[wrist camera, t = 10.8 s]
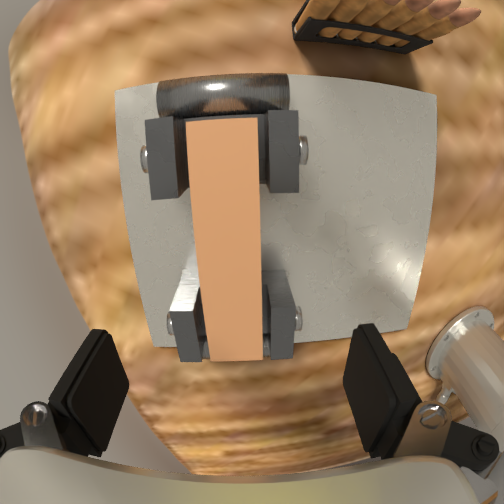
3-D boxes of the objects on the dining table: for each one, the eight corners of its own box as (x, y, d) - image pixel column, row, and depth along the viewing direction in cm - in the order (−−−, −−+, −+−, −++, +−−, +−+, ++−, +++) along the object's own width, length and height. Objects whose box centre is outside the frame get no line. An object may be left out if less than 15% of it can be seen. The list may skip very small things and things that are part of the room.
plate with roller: (403, 323, 31) (430, 362, 24) (155, 340, 30) (140, 387, 24) (430, 95, 21) (478, 92, 15) (119, 91, 20) (79, 81, 14)
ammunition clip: (293, 40, 20) (334, -25, 8) (291, 22, 19) (329, -51, 8) (405, 54, 20) (493, 28, 9) (403, 37, 19) (486, 4, 8)
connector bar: (259, 328, 26) (262, 359, 22) (214, 330, 25) (210, 361, 22) (254, 120, 19) (257, 117, 15) (196, 124, 19) (185, 121, 15)
